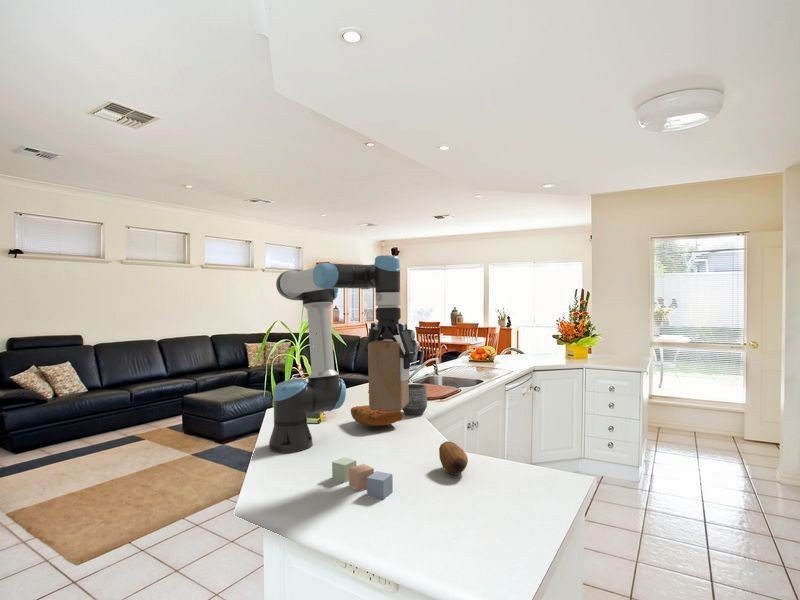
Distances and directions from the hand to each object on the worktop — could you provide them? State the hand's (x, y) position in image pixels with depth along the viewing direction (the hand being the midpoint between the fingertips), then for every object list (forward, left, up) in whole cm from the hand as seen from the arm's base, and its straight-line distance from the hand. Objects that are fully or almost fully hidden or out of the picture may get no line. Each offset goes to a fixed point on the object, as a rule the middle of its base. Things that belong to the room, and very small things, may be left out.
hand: (389, 377), depth 134 cm
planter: (-46, +56, -29) cm, 78 cm away
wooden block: (0, 0, -9) cm, 9 cm away
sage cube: (-7, -12, -29) cm, 32 cm away
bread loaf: (-44, +31, -29) cm, 61 cm away
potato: (+13, +14, -29) cm, 35 cm away
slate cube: (+9, -12, -29) cm, 32 cm away
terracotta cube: (+1, -12, -29) cm, 31 cm away
